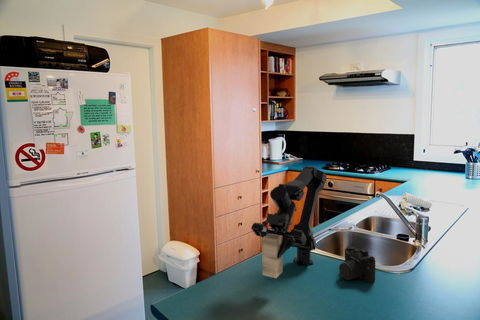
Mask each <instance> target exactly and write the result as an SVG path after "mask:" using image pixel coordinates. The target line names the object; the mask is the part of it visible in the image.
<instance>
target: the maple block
mask: <svg viewBox="0 0 480 320" xmlns="http://www.w3.org/2000/svg"><path fill="white" fill-rule="evenodd" d="M261 240H262V241H261V244H262V246H261V247H262V249H261V252H262V255H261V256H262V276H266V277H269V278H272V279H273V278H274V279H277V278H279V276H281V274H283V255H282V256H281V257H280V258H277V255H278V252H279V249H280V247H281V244H282V241H283V237H282V236H281V235H276V234H270V233H269V234H267V235H266V236H264V237H263V238H262V237H261Z"/></svg>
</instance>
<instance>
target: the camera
mask: <svg viewBox="0 0 480 320" xmlns="http://www.w3.org/2000/svg"><path fill="white" fill-rule="evenodd" d="M356 247H357V246H352V245H351V246H347V247H346V248H345V249H344V262H342V263H340V264H339V266H338V267H339V268H338V269H339V275H340V276H341V278H342V279H343V280H345V281H347V280H348V281H349V280H354V279H357V280H362V281H365V282H368V283H369V284H374V283H375V281H376V258H375V256H374V255H369V251H368V250H367V249H364V248H362V249H359V248H356Z"/></svg>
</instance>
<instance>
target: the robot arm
mask: <svg viewBox="0 0 480 320" xmlns="http://www.w3.org/2000/svg"><path fill="white" fill-rule="evenodd" d="M326 182H327V175H326V172H324V171H322V170H320V169H318V168H317V167H315V166H308V165H307V166H306V165H305V166H303V167H302V170H301V172H300V173H298V175H297V176H296V177H295V178H294V179H293V180H292V181H287V182H286V183H284V184H282V183H279V184H278V186H276V187H274V188H273V189H272V190H271V191H270V193H269V195H270V198H271V200H272V201H273V203H274V204H275V206H276V207H277V211H276V212H274V214H273V213H267V214H266V220H265V223H266V224H268V226H269V227H270V228H269V227H267V226H266V225H265V223H260V222H254V223H252V224H251V227H250V229H251V232H253V233H254V235H255V236H257V237H259V238H260V237H261V239H262V238H263V237H264V236H266V235H267V234H269V233H270V234H276V235H281V236H282V244H281V247H280V249H279V252H278V255H277V258H280V257H281V256H282V257H283V255H284V254H285V253H286V252H287V251H288V250H289V249H290V248H296V255H295V256H296V257H293V260H294V261H295V264H296V265H297V266H299V265H300V266H303V265H314V262H313V260H312V259H311V258H312V256H311V255H312V252H313V251H314V250H316V247H317V241H316V239H315V237H314V232H313V228H312V222H313V218H314V214H315V209H316V205H317V201H318V197H319V196H318V195H319V193H320V192H321V191H322V190H323V189H324V187H325V184H326ZM305 188H306V192H304V191H305V190H304V189H305ZM304 195H305V197H304ZM303 197H304V203H303V206H302V210H301V214H300V219H299V222H298V223H297V224H294V225H293V222H292V221H293V217H294V213H295V212H296V211H297V205H296V203H295V202H294V201H296V202H300V201H301V200H302V199H303ZM292 225H293V227H292V229H291V230H290V231H289V229H290V226H292Z"/></svg>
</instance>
